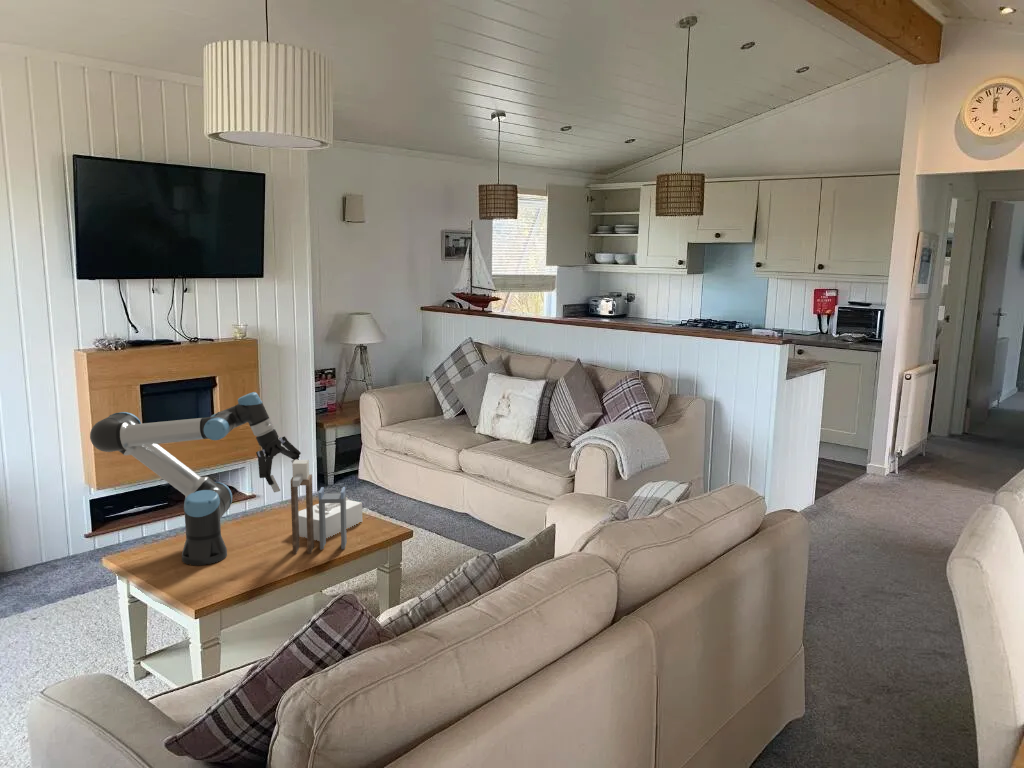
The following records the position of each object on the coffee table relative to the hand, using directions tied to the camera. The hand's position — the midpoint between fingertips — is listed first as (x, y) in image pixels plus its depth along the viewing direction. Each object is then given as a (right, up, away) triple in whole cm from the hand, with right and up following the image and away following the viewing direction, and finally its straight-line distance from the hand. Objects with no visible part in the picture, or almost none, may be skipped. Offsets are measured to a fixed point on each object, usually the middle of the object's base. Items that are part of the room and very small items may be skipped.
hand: (289, 483), depth 289 cm
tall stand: (+6, -24, -4) cm, 25 cm away
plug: (+7, +2, -13) cm, 15 cm away
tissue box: (+10, -21, +20) cm, 30 cm away
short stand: (+16, -24, +1) cm, 29 cm away
